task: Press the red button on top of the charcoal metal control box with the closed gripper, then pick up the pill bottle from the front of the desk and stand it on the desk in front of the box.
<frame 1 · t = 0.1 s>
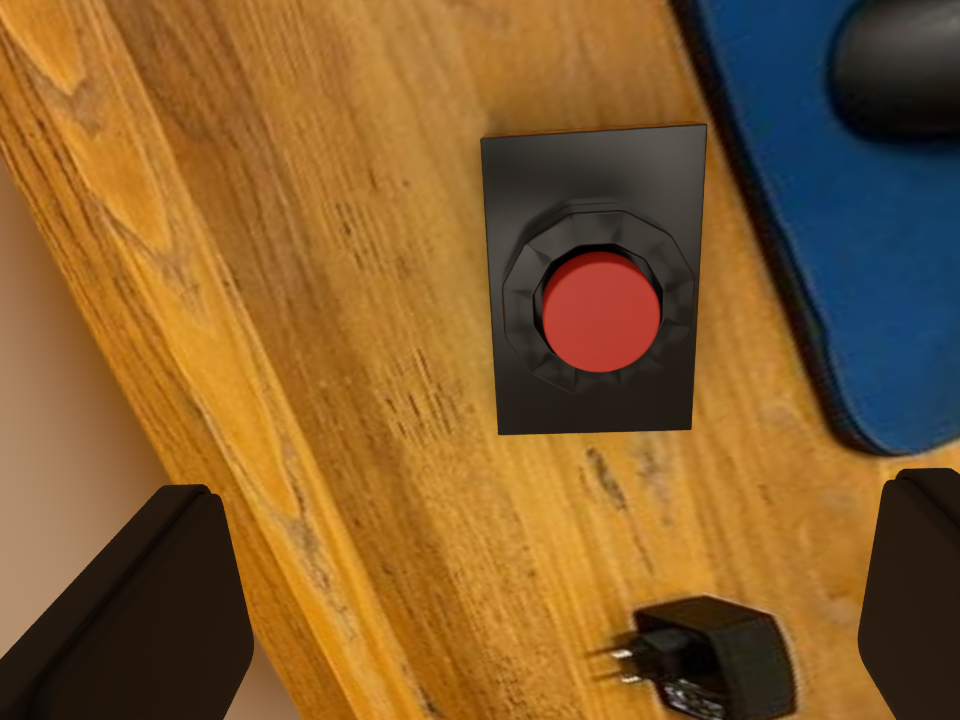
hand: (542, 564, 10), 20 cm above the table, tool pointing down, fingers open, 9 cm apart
button box: (588, 279, 29), on the table
button: (598, 311, 24), point 4 cm above the table, slide at 0.1 cm
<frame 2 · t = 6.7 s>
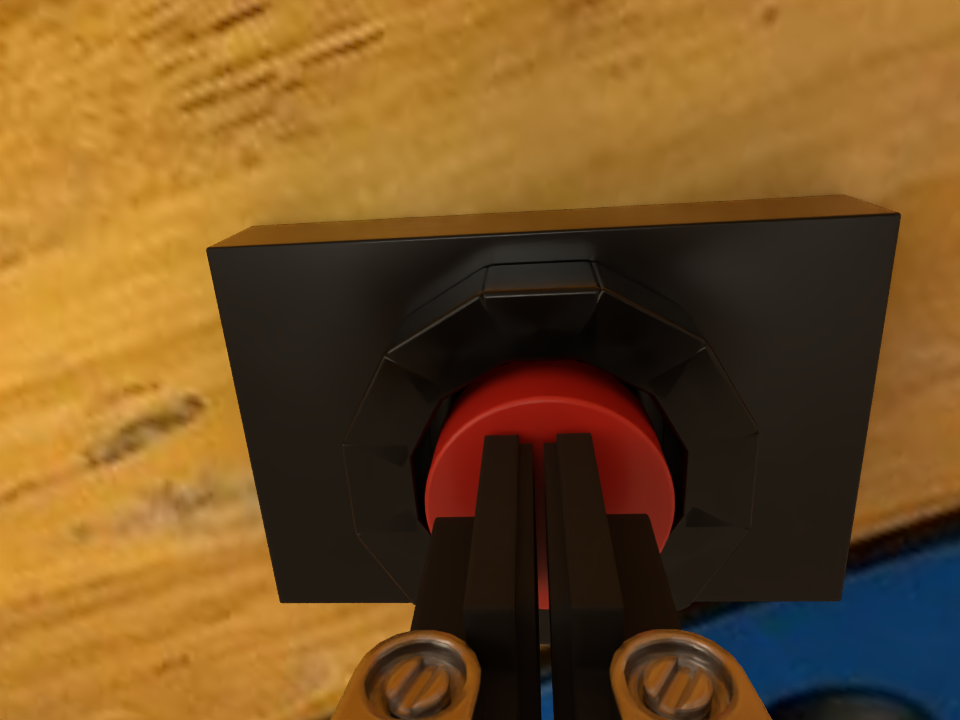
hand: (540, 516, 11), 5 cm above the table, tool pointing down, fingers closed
button box: (543, 391, 15), on the table
button: (547, 482, 12), point 4 cm above the table, slide at -0.5 cm, touching gripper
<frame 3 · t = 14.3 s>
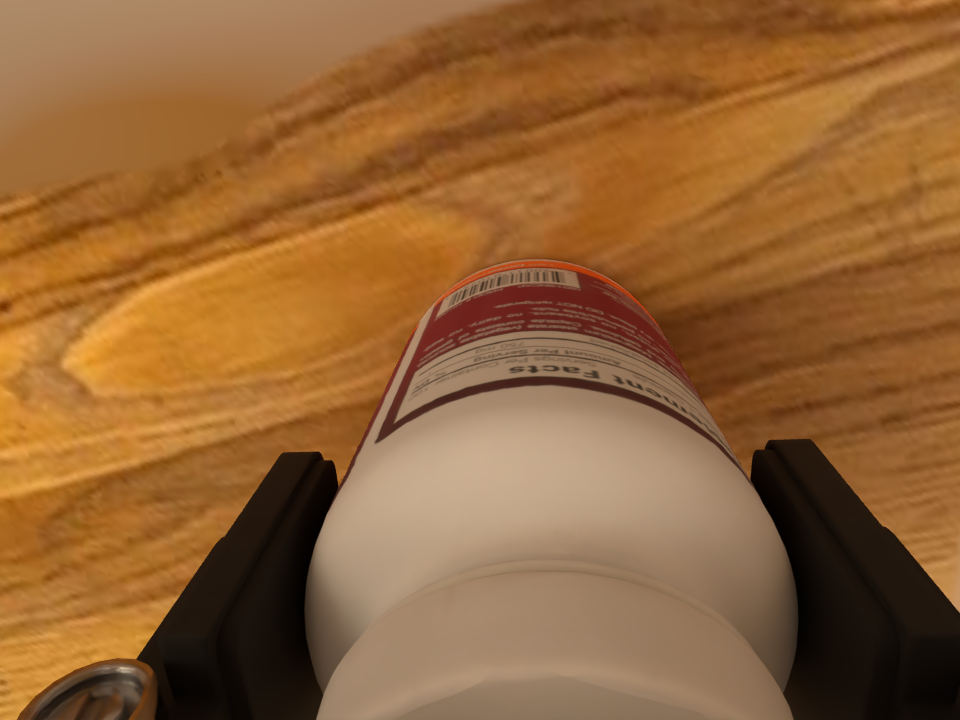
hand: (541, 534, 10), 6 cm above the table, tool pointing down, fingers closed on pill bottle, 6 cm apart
pill bottle: (536, 378, 16), on the table, touching gripper
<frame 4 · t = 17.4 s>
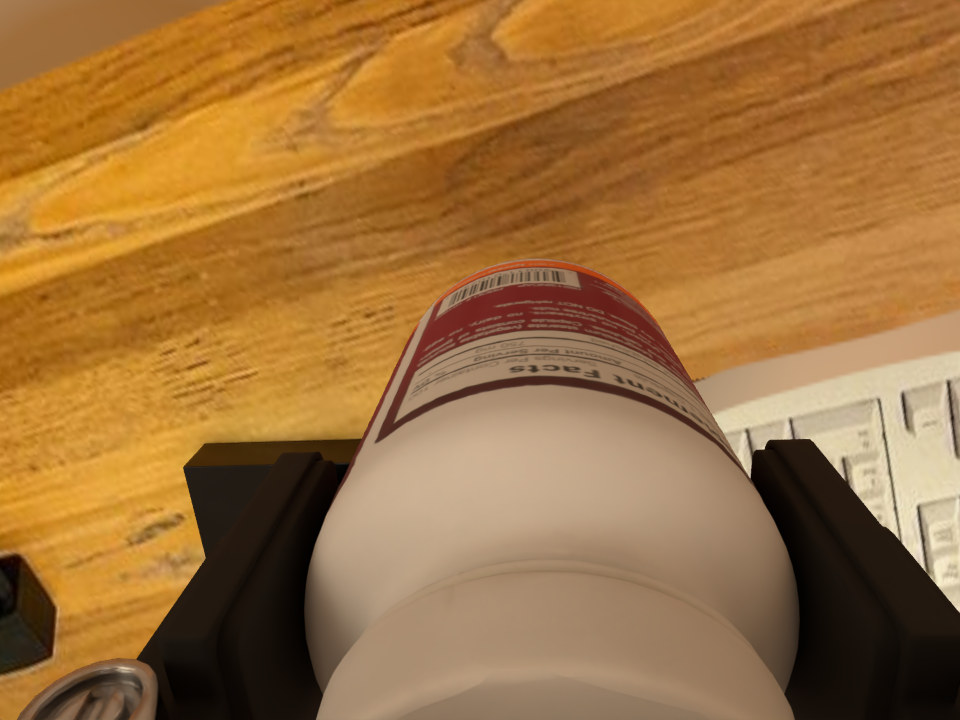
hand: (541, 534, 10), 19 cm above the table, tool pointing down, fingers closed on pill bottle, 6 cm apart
pill bottle: (536, 377, 16), point 13 cm above the table, touching gripper
button box: (341, 513, 33), on the table
when the fingers open (6 cm above the table, at t = 20.8 s): pill bottle stays where it is, on the table.
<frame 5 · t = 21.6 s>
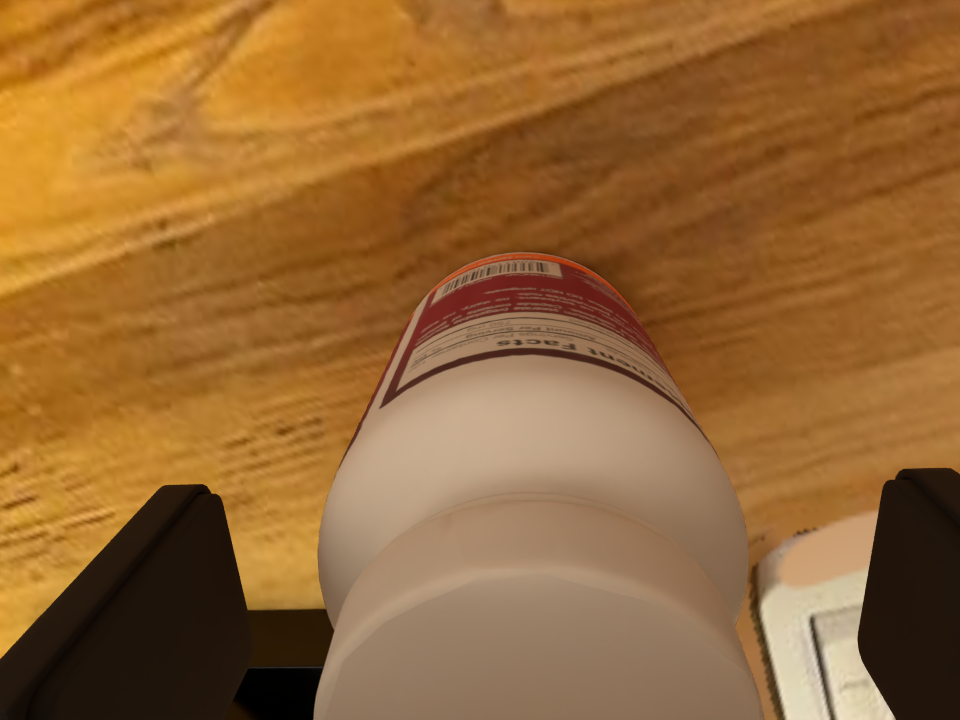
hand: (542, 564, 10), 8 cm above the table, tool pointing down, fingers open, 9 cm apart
pill bottle: (523, 363, 17), on the table
button box: (255, 710, 22), on the table
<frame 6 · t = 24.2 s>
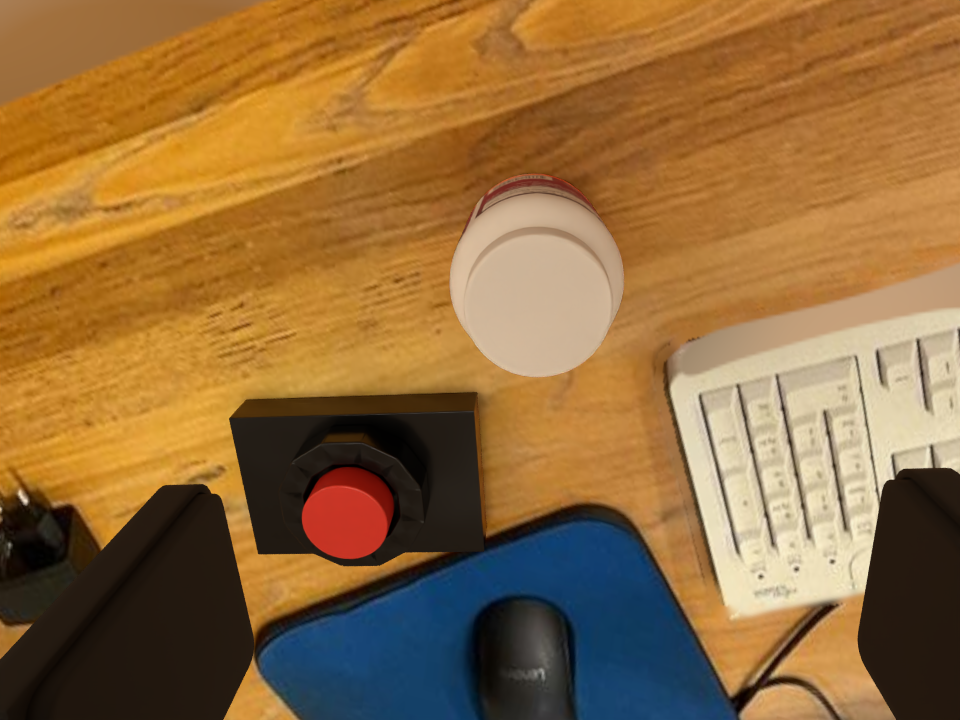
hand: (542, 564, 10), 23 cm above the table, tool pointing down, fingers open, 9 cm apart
pill bottle: (533, 239, 32), on the table
button box: (369, 464, 36), on the table
button: (348, 512, 32), point 4 cm above the table, slide at 0.1 cm
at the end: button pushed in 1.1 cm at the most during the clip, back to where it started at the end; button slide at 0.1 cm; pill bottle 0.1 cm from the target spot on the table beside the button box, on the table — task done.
